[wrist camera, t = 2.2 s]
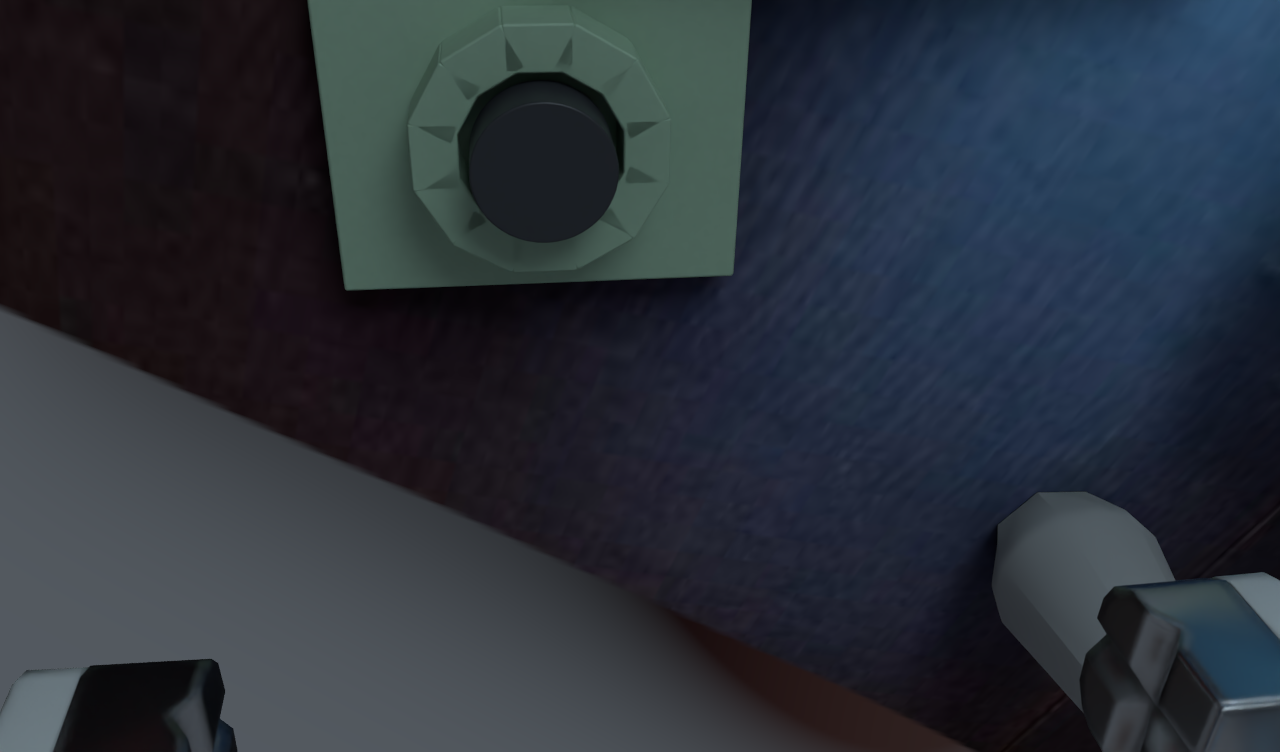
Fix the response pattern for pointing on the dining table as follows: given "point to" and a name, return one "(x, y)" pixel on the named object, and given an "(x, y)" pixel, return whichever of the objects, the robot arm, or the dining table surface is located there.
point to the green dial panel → (486, 65)
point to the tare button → (542, 162)
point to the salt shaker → (1068, 575)
